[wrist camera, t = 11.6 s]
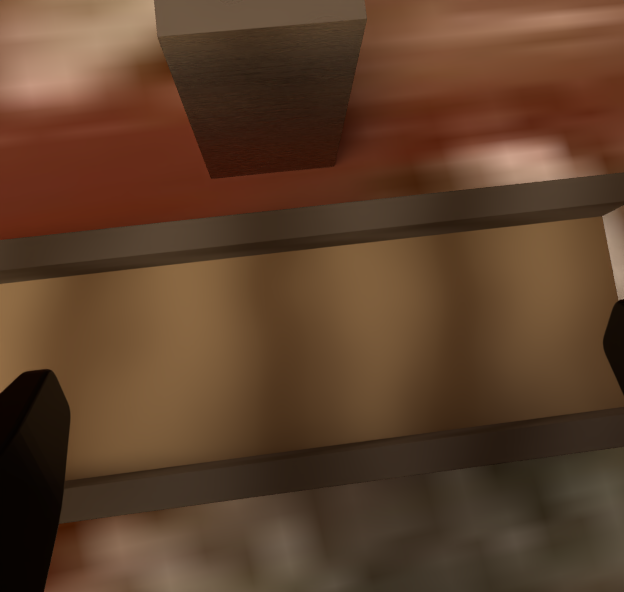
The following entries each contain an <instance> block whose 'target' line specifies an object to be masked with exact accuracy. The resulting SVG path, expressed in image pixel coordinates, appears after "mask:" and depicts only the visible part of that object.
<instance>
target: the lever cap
mask: <svg viewBox="0 0 624 592" xmlns="http://www.w3.org/2000/svg"><path fill="white" fill-rule="evenodd" d="M154 5H155V15H156V26H157V37H158V40H159V42H160V45H161V47H162V50H163V53H164V55H165V58H166V61H167V63H168V66H169V69H170V71H171V74H172V77H173V79H174V82H175V85H176V87H177V90H178V93H179V95H180V98H181V101H182V103H183V106H184V109H185V111H186V114H187V117H188V119H189V122H190V124H191V127H192V130H193V132H194V135H195V138H196V140H197V143H198V146H199V148H200V151H201V154H202V156H203V159H204V162H205V164H206V167H207V170H208V172H209V175H210V178H211V179H213V178H223V177H233V176H243V175H253V174H263V173H273V172H283V171H293V170H303V169H312V168H322V167H332V166H334V164H335V160H336V155H337V151H338V146H339V142H340V137H341V133H342V128H343V124H344V119H345V115H346V110H347V106H348V101H349V97H350V92H351V88H352V83H353V79H354V74H355V70H356V65H357V61H358V56H359V52H360V47H361V43H362V38H363V34H364V29H365V25H366V20H367V16H366V9H365V2H364V0H154Z"/></svg>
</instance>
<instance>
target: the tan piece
mask: <svg viewBox="0 0 624 592" xmlns="http://www.w3.org/2000/svg"><path fill="white" fill-rule="evenodd" d="M623 205H624V173H615V174H606V175H597V176H588V177H578V178H569V179H560V180H551V181H542V182H532V183H523V184H514V185H505V186H495V187H486V188H477V189H468V190H459V191H449V192H440V193H431V194H422V195H412V196H403V197H394V198H385V199H376V200H366V201H357V202H348V203H339V204H329V205H320V206H311V207H302V208H293V209H283V210H274V211H265V212H256V213H246V214H237V215H228V216H219V217H209V218H200V219H191V220H182V221H173V222H163V223H154V224H145V225H136V226H126V227H117V228H108V229H99V230H90V231H80V232H71V233H62V234H53V235H43V236H34V237H25V238H16V239H7V240H0V393H1V392H2V391H3V390H4V389H5V388H6V387H7V386H8V385H9V384H11V383H12V382H13V381H14V380H15V379H16V378H17V377H18V376H19V375H20V374H22V373H23V372H26V371H32V370H40V369H50V370H52V371H53V372H54V373H55V375H56V377H57V379H58V381H59V383H60V386H61V388H62V390H63V392H64V394H65V397H66V399H67V401H68V404H69V407H70V412H71V422H70V432H69V442H68V453H67V463H66V474H65V484H64V494H63V502H62V510H61V515H60V520H59V524H60V523H68V522H75V521H82V520H90V519H97V518H104V517H112V516H119V515H126V514H134V513H141V512H148V511H156V510H163V509H170V508H178V507H185V506H192V505H200V504H207V503H214V502H222V501H229V500H236V499H243V498H251V497H258V496H265V495H273V494H280V493H287V492H295V491H302V490H309V489H317V488H324V487H331V486H339V485H346V484H353V483H361V482H368V481H375V480H383V479H390V478H397V477H405V476H412V475H419V474H426V473H434V472H441V471H448V470H456V469H463V468H470V467H478V466H485V465H492V464H500V463H507V462H514V461H522V460H529V459H536V458H544V457H551V456H558V455H566V454H573V453H580V452H588V451H595V450H602V449H610V448H617V447H624V395H623V393H622V391H621V388H620V386H619V384H618V382H617V380H616V377H615V375H614V373H613V371H612V368H611V366H610V364H609V362H608V359H607V357H606V355H605V352H604V349H603V336H604V333H605V330H606V327H607V324H608V320H609V317H610V314H611V311H612V308H613V306H614V304H615V303H616V302H617V301H618V296H617V291H616V286H615V281H614V276H613V270H612V265H611V260H610V255H609V250H608V245H607V240H606V235H605V229H604V224H603V219H602V216H603V215H605V214H607V213H609V212H611V211H613V210H615V209H617V208H619V207H621V206H623Z"/></svg>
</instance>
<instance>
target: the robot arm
mask: <svg viewBox="0 0 624 592" xmlns="http://www.w3.org/2000/svg"><path fill="white" fill-rule="evenodd" d="M603 349H604V352H605V355H606V357H607V359H608V362H609V364H610V366H611V368H612V371H613V373H614V375H615V377H616V380H617V382H618V384H619V386H620V388H621V391H622V393H623V395H624V299H623V300H619V301H617V302H616V303H615V304H614V306H613V308H612V311H611V314H610V317H609V320H608V324H607V327H606V330H605V333H604V336H603ZM70 422H71V412H70V407H69V404H68V401H67V399H66V397H65V394H64V392H63V390H62V388H61V386H60V383H59V381H58V379H57V377H56V375H55V373H54V372H53V371H52V370H50V369H40V370H32V371H26V372H23V373H22V374H20V375H19V376H18V377H17V378H16V379H15V380H14V381H13V382H12V383H11V384H9V385H8V386H7V387H6V388H5V389H4V390H3V391H2V392H1V393H0V592H44V589H45V584H46V580H47V575H48V571H49V566H50V562H51V557H52V553H53V548H54V543H55V539H56V534H57V530H58V525H59V520H60V515H61V510H62V502H63V494H64V484H65V474H66V463H67V453H68V442H69V432H70Z"/></svg>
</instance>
